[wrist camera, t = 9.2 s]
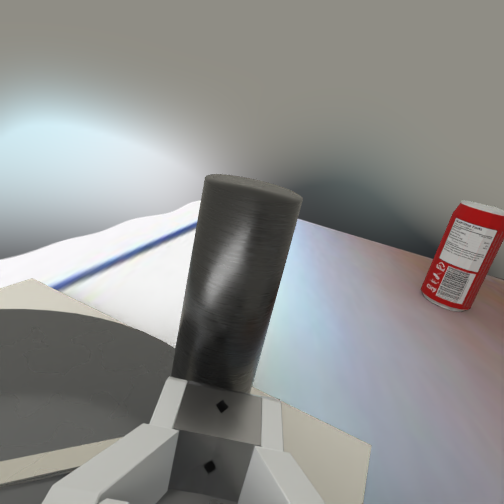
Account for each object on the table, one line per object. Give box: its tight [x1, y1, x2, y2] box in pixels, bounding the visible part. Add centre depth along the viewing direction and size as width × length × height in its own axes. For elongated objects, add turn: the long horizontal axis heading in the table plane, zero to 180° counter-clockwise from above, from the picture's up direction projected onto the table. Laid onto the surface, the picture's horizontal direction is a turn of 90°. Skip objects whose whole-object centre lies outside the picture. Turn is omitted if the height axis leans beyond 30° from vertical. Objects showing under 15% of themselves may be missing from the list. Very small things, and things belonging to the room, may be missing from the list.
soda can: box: [421, 200, 504, 312], centre depth 41 cm, size 6×6×12 cm
